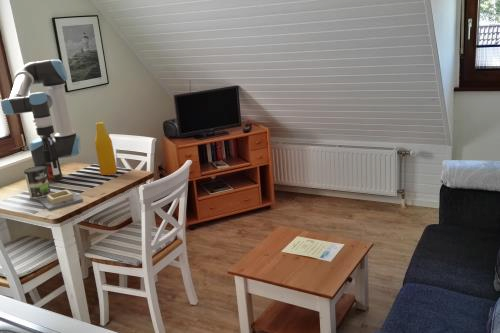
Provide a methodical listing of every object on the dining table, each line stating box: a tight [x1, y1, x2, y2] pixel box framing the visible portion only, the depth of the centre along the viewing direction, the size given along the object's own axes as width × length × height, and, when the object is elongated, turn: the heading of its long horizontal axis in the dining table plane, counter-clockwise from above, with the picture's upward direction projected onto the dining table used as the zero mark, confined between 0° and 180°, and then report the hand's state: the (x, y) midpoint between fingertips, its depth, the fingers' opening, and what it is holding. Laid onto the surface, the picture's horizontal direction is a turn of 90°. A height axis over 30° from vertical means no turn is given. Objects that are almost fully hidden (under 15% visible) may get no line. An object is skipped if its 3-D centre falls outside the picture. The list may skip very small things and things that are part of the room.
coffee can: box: [23, 166, 52, 200], centre depth 263 cm, size 10×10×14 cm
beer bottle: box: [94, 121, 118, 176], centre depth 287 cm, size 9×9×29 cm
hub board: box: [38, 189, 84, 212], centre depth 251 cm, size 18×16×4 cm
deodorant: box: [43, 148, 64, 183], centre depth 246 cm, size 6×6×15 cm
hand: (54, 173), depth 247 cm, fingers closed on deodorant, 6 cm apart
